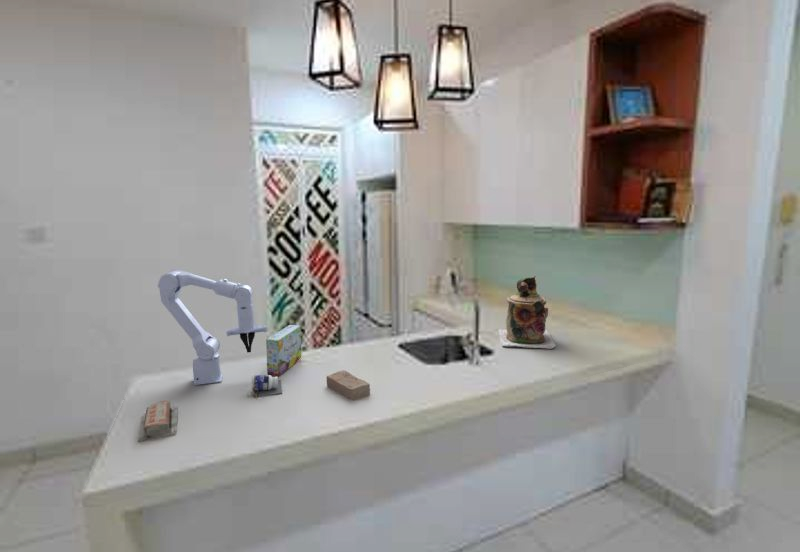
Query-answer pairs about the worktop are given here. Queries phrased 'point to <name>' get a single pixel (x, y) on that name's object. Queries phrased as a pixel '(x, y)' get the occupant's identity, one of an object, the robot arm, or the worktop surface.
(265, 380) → the pill bottle
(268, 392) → the rubber mat
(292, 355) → the snack box
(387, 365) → the worktop surface
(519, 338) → the cookie jar
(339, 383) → the brick
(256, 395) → the walnut strip
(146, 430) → the packaged product
